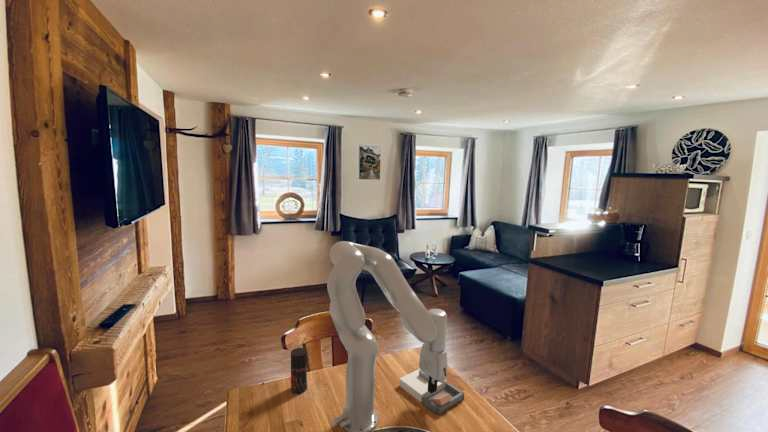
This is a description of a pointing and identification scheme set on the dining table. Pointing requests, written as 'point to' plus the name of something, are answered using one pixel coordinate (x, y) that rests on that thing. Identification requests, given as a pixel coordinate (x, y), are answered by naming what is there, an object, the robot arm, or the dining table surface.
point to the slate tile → (422, 375)
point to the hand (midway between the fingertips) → (432, 390)
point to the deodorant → (298, 370)
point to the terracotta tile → (441, 399)
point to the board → (418, 385)
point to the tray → (439, 409)
